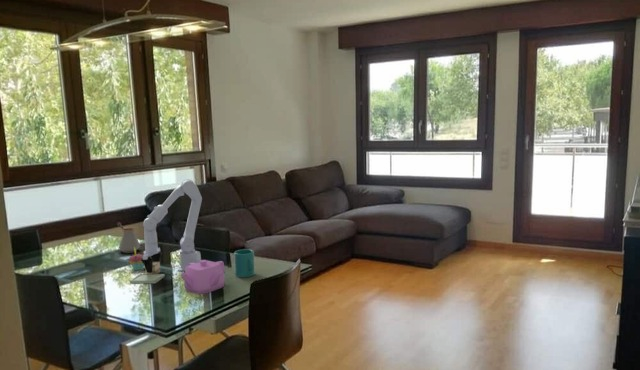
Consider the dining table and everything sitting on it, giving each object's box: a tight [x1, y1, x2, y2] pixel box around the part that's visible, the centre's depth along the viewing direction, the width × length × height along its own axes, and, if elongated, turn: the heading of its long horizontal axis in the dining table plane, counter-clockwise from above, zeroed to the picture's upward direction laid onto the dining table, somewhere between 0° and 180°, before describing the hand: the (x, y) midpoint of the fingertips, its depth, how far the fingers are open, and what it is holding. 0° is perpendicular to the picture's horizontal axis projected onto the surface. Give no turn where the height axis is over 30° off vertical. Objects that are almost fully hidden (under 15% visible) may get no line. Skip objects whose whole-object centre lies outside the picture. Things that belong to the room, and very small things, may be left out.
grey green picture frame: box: [129, 273, 166, 284], centre depth 218 cm, size 12×10×1 cm
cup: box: [233, 248, 256, 279], centre depth 220 cm, size 9×12×11 cm
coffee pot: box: [117, 221, 141, 254], centre depth 273 cm, size 21×12×15 cm, turn 42°
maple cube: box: [144, 261, 161, 274], centre depth 228 cm, size 5×5×5 cm
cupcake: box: [128, 247, 145, 271], centre depth 235 cm, size 9×8×12 cm
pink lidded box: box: [180, 259, 226, 296], centre depth 204 cm, size 17×17×12 cm
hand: (152, 270), depth 228 cm, fingers open, 7 cm apart
